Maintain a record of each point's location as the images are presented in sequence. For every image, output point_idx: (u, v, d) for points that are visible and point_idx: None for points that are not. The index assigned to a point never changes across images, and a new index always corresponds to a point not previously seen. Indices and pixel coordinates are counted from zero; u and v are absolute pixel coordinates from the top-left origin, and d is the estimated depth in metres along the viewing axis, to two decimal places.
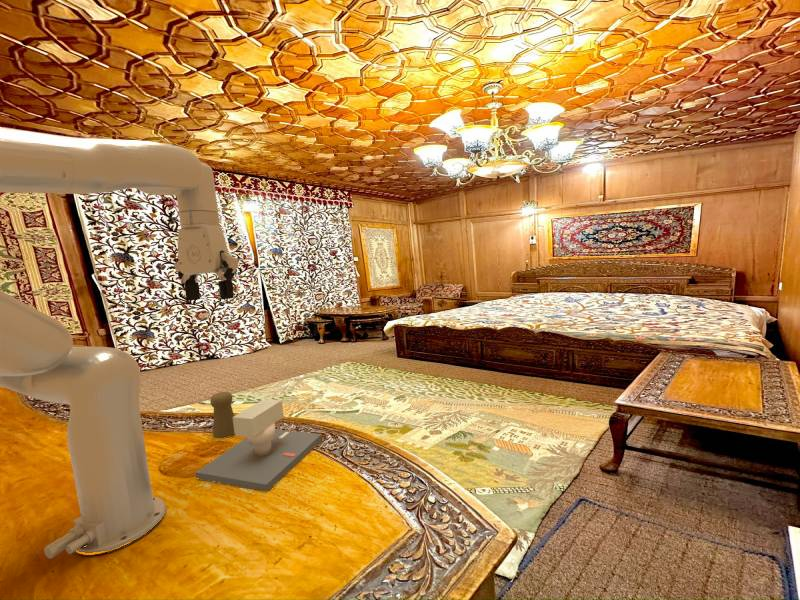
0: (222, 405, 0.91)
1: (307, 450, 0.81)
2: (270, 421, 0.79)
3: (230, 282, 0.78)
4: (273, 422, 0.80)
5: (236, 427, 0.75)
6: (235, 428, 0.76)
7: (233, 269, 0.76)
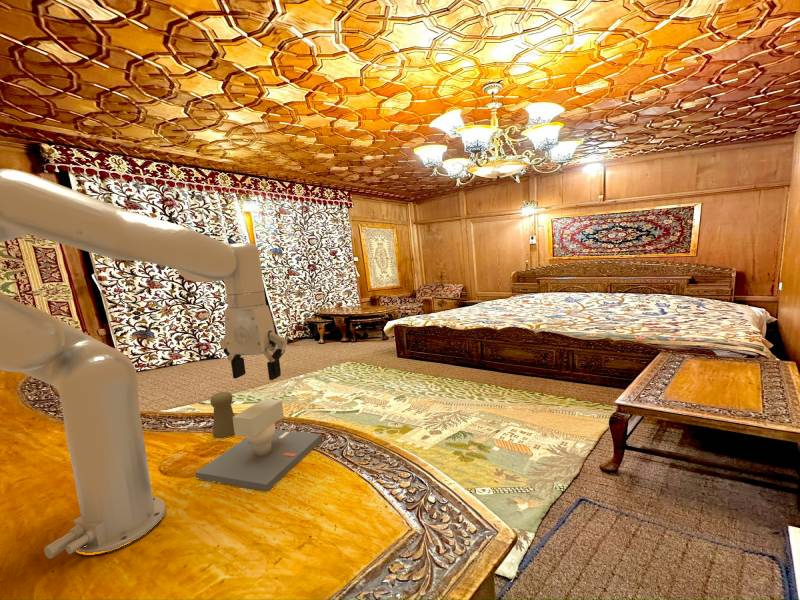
0: (222, 404, 0.91)
1: (307, 450, 0.81)
2: (270, 421, 0.79)
3: (278, 361, 0.77)
4: (273, 422, 0.80)
5: (236, 427, 0.75)
6: (235, 428, 0.76)
7: (282, 350, 0.75)
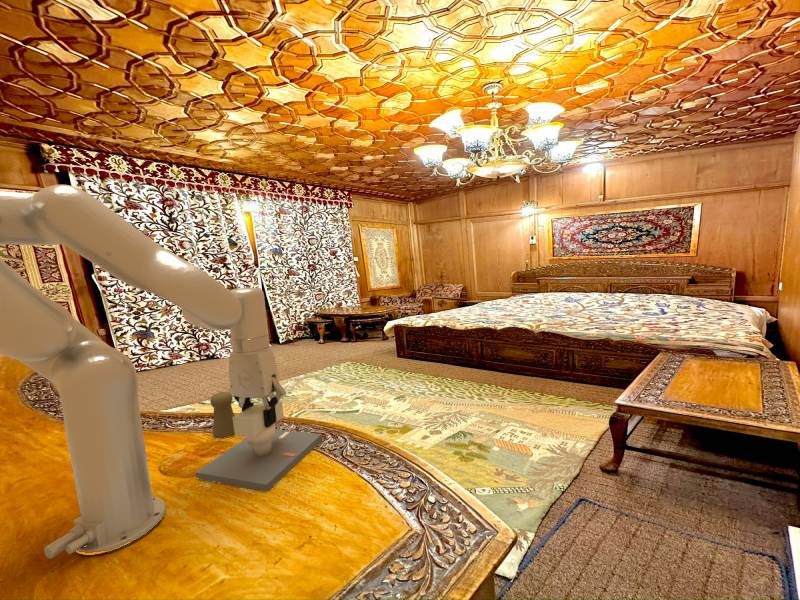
0: (222, 404, 0.91)
1: (307, 450, 0.81)
2: None
3: (274, 408, 0.78)
4: None
5: (236, 427, 0.75)
6: (235, 428, 0.76)
7: (278, 398, 0.77)
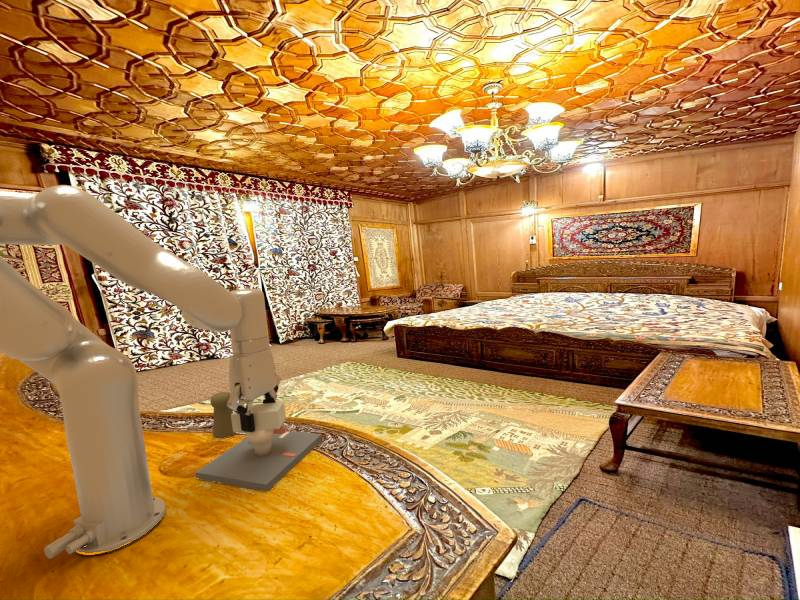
0: (222, 404, 0.91)
1: (307, 450, 0.81)
2: (257, 426, 0.77)
3: (244, 417, 0.75)
4: (262, 429, 0.77)
5: None
6: None
7: None
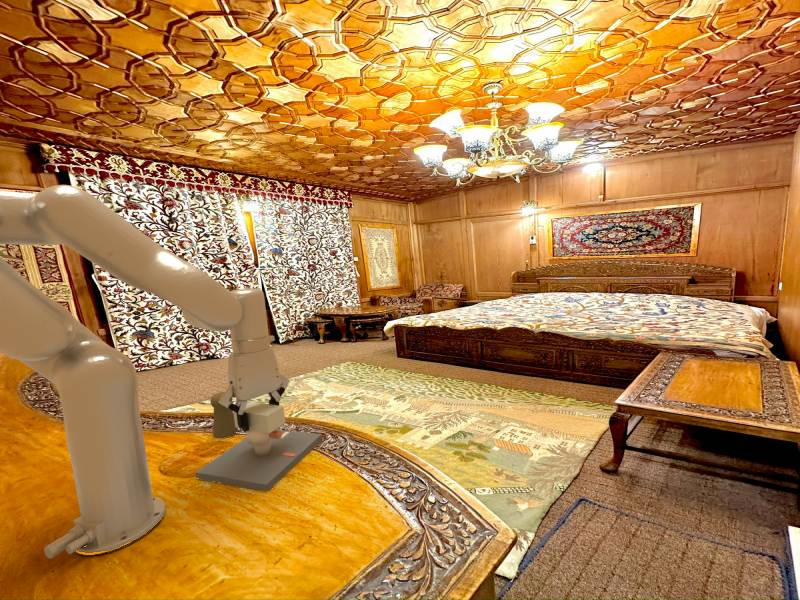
0: None
1: (307, 450, 0.81)
2: (252, 426, 0.77)
3: (238, 416, 0.76)
4: (256, 430, 0.77)
5: None
6: None
7: None
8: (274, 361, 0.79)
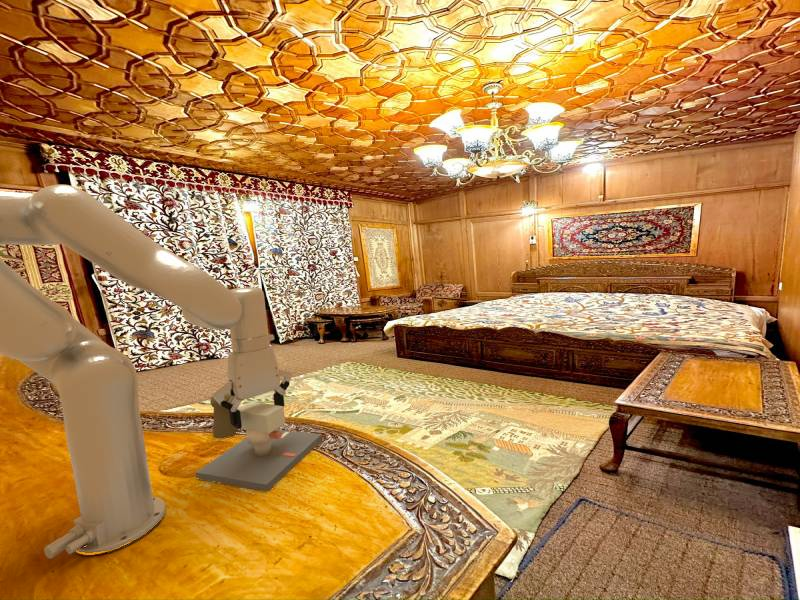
0: None
1: (307, 450, 0.81)
2: (252, 426, 0.77)
3: (231, 413, 0.75)
4: (255, 430, 0.77)
5: None
6: None
7: None
8: (274, 360, 0.79)
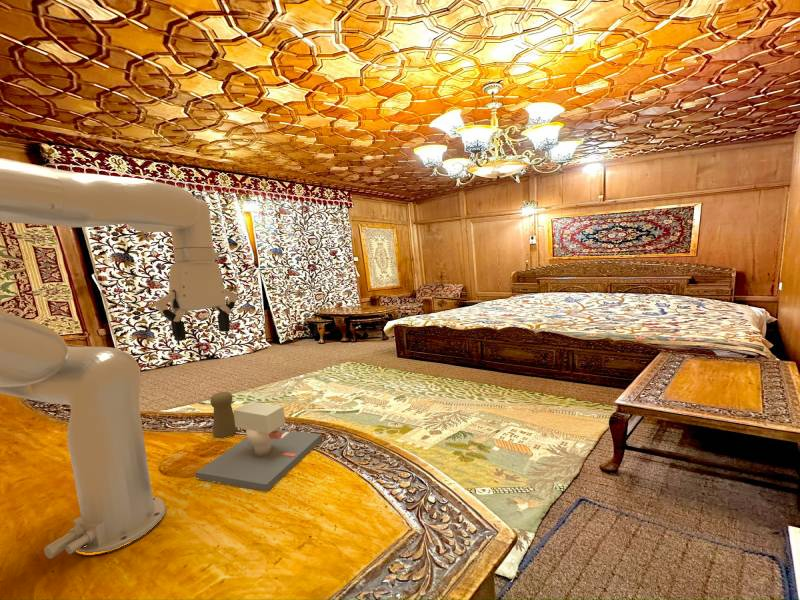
0: (222, 404, 0.91)
1: (307, 450, 0.81)
2: (252, 426, 0.77)
3: (174, 324, 0.73)
4: (255, 430, 0.77)
5: None
6: None
7: (160, 311, 0.72)
8: (219, 276, 0.79)
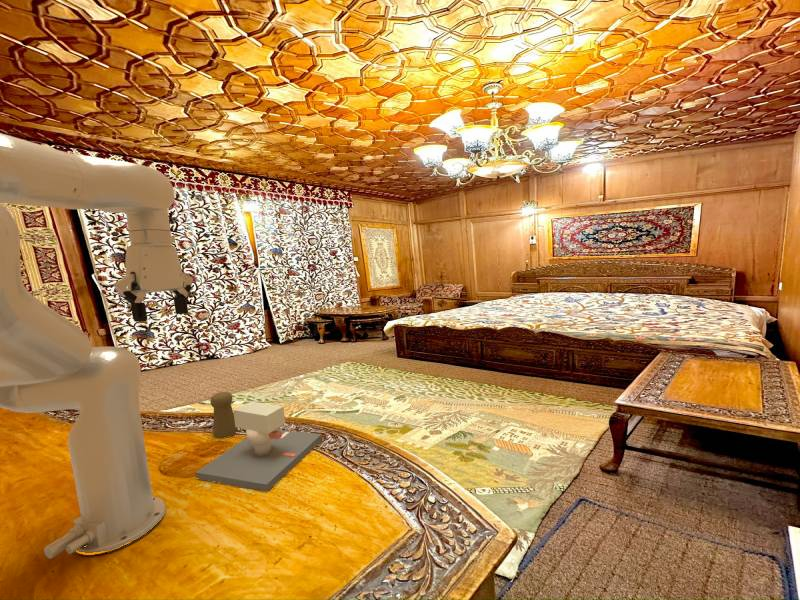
0: (222, 404, 0.91)
1: (307, 450, 0.81)
2: (252, 426, 0.77)
3: (135, 305, 0.74)
4: (255, 430, 0.77)
5: None
6: None
7: (120, 293, 0.72)
8: (177, 259, 0.81)
